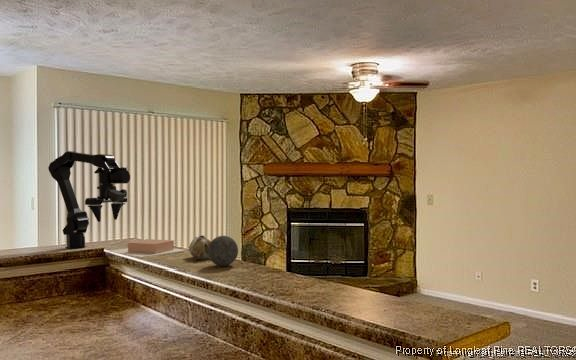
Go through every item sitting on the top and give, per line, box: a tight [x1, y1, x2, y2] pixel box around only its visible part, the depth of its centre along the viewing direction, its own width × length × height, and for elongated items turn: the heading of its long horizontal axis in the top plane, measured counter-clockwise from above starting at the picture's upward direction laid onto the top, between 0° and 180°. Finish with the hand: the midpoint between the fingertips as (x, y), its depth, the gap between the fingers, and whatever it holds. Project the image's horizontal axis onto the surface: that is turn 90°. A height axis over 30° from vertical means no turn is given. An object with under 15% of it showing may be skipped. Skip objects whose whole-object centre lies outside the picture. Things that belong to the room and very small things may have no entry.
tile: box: [127, 238, 175, 254], centre depth 206 cm, size 4×11×14 cm
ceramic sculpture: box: [188, 235, 212, 260], centre depth 189 cm, size 11×9×15 cm
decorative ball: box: [208, 235, 239, 267], centre depth 172 cm, size 10×10×10 cm
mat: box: [109, 247, 187, 258], centre depth 208 cm, size 20×26×1 cm
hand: (107, 220), depth 219 cm, fingers open, 9 cm apart
